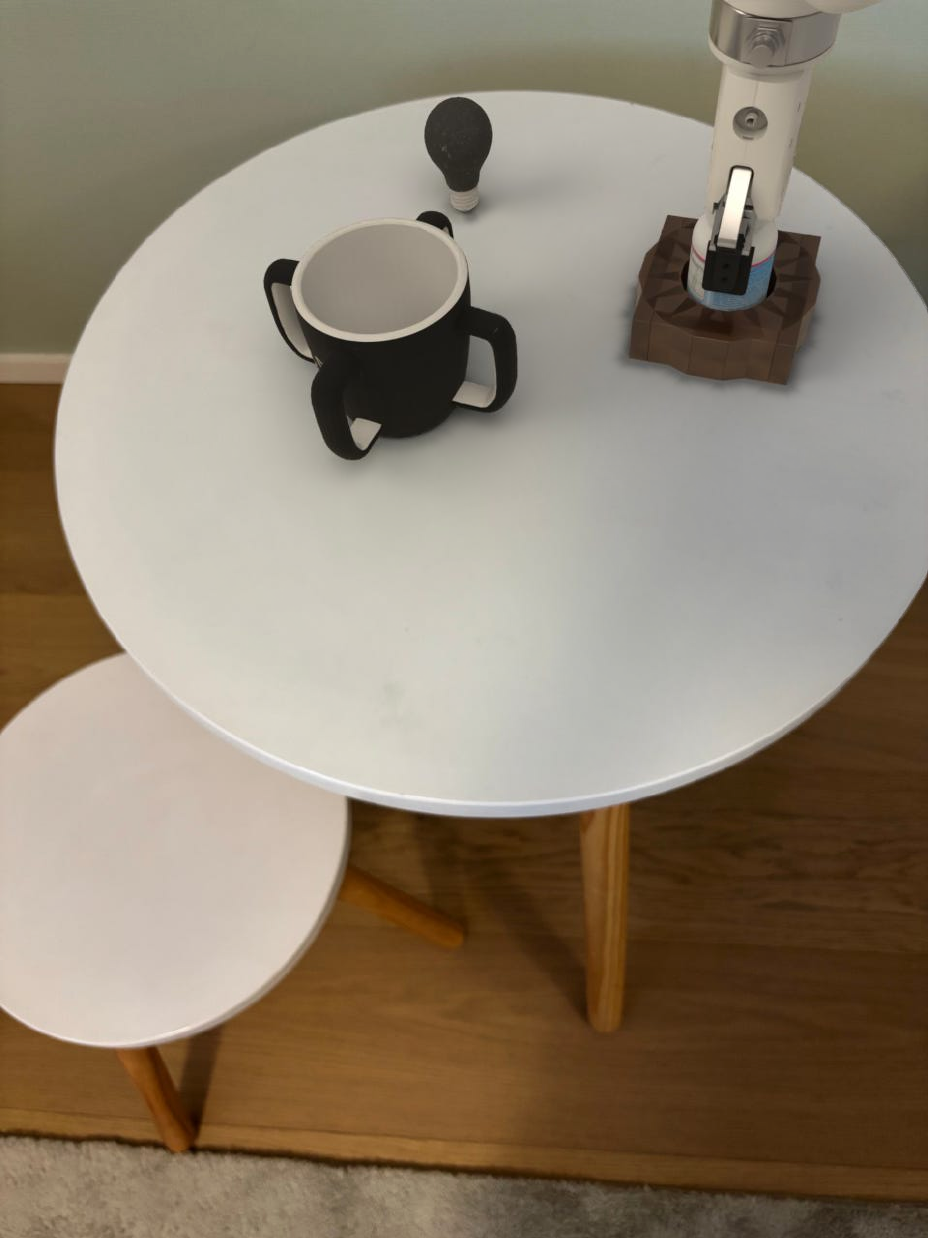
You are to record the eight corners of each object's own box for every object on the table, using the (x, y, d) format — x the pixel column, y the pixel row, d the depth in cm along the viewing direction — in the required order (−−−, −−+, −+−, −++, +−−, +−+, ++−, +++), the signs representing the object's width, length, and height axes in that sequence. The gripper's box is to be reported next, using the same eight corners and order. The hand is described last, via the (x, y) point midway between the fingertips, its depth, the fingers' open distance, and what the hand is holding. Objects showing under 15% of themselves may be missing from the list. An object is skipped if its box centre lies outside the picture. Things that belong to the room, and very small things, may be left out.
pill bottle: (773, 305, 82) (801, 182, 72) (740, 355, 80) (764, 235, 70) (703, 281, 84) (721, 158, 74) (669, 329, 82) (682, 208, 72)
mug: (285, 348, 84) (246, 226, 74) (475, 301, 85) (463, 174, 75) (320, 503, 76) (282, 389, 66) (531, 449, 77) (526, 328, 66)
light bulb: (431, 192, 93) (417, 86, 84) (493, 184, 92) (486, 77, 84) (436, 233, 90) (422, 128, 81) (500, 225, 90) (493, 119, 81)
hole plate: (820, 272, 84) (831, 231, 80) (793, 393, 77) (804, 354, 74) (657, 248, 87) (661, 207, 83) (618, 362, 80) (621, 324, 77)
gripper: (817, 110, 57) (763, 350, 72) (859, -58, 65) (802, 190, 80) (681, 94, 58) (656, 332, 74) (738, -68, 66) (705, 178, 82)
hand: (733, 256), depth 77 cm, fingers closed on pill bottle, 6 cm apart
